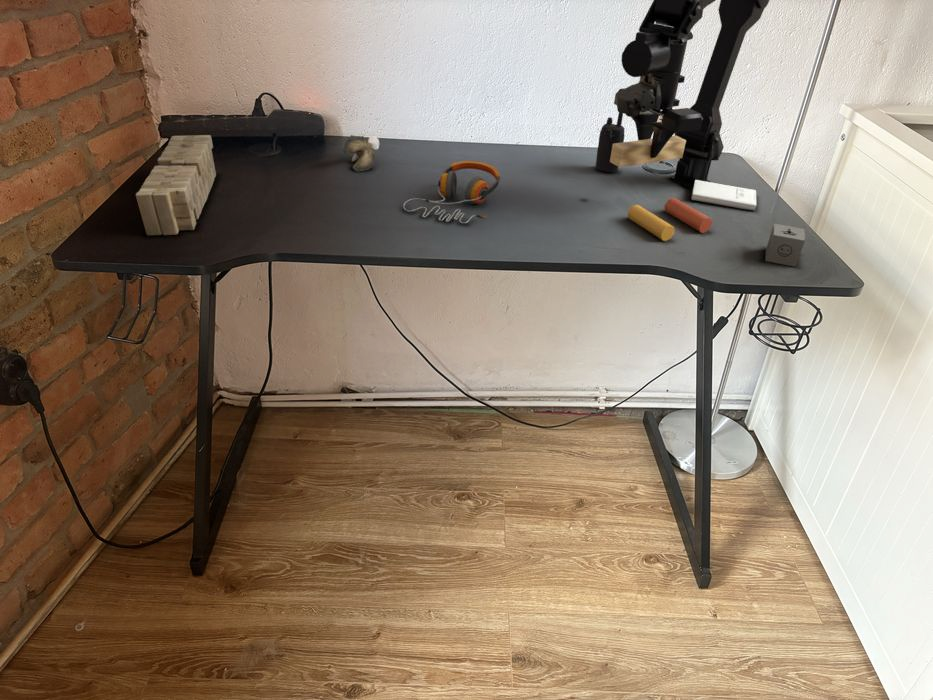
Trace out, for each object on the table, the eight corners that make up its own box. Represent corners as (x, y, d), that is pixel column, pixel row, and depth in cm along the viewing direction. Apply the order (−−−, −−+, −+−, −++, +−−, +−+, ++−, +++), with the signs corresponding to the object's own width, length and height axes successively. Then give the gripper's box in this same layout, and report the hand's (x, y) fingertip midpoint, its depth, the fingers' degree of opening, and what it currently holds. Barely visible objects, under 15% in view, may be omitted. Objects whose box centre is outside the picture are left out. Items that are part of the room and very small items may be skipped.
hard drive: (693, 186, 146) (753, 196, 144) (690, 200, 140) (754, 211, 137) (695, 178, 145) (756, 188, 143) (692, 193, 139) (756, 204, 136)
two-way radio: (620, 170, 153) (632, 102, 144) (612, 176, 150) (624, 106, 141) (597, 165, 155) (608, 97, 146) (589, 171, 152) (600, 101, 143)
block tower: (193, 239, 120) (219, 172, 143) (183, 194, 115) (212, 132, 138) (146, 240, 119) (179, 172, 142) (133, 194, 114) (171, 132, 137)
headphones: (395, 199, 129) (442, 145, 140) (399, 222, 132) (444, 167, 144) (477, 219, 123) (518, 161, 135) (478, 242, 127) (518, 184, 139)
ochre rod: (638, 217, 133) (641, 203, 131) (672, 239, 125) (676, 224, 124) (626, 220, 131) (628, 205, 130) (659, 242, 124) (662, 227, 122)
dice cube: (765, 260, 120) (773, 234, 117) (765, 249, 124) (774, 223, 121) (795, 266, 118) (805, 240, 116) (795, 254, 122) (804, 228, 119)
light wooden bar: (672, 153, 135) (676, 135, 133) (682, 158, 133) (686, 140, 131) (609, 161, 129) (612, 143, 127) (619, 167, 127) (622, 148, 125)
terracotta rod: (674, 210, 136) (678, 196, 134) (709, 231, 129) (713, 216, 127) (663, 213, 135) (666, 198, 133) (697, 234, 128) (701, 219, 126)
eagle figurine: (341, 150, 153) (333, 156, 145) (358, 123, 151) (351, 128, 142) (370, 170, 155) (364, 178, 147) (387, 144, 152) (382, 150, 144)
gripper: (597, 59, 125) (585, 143, 134) (662, 85, 112) (643, 177, 121) (646, 55, 129) (631, 137, 138) (714, 80, 116) (692, 169, 125)
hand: (647, 154), depth 130 cm, fingers closed on light wooden bar, 3 cm apart
